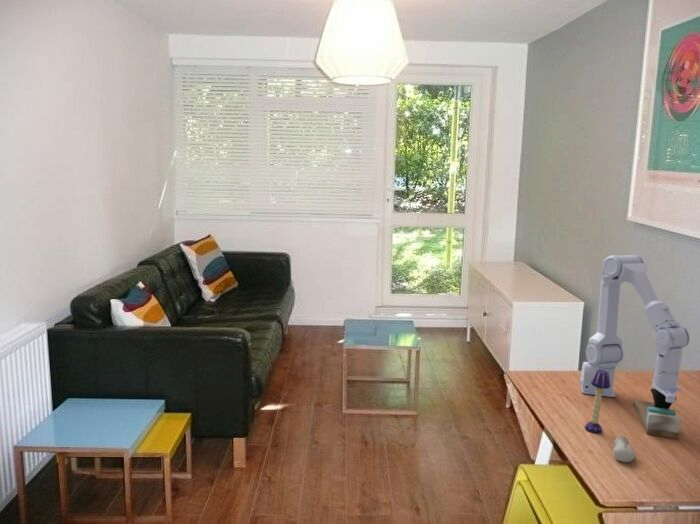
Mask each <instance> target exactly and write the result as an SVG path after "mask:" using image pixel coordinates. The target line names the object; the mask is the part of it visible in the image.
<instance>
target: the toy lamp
mask: <svg viewBox="0 0 700 524" xmlns="http://www.w3.org/2000/svg"><path fill="white" fill-rule="evenodd" d="M591 384H592V385H593V386H595V387H596V392H595V395H594V397H593V400H594V401H593V407H592V413H591V419H590V421H589V422H587V423H586V424H585V425H584V429H585V430H586V431H588V432H589V433H594V434H600V433H602V432H603V429H602V426H601V425H600V423H599V417H600V411H601V407H602V406H601V405H602V404H601V402H602V397H603V396H602V391H603V389H607V388H609V387H610V380H609V373H608V372H607V371H606V370H601V369H598V370H597V371H596V372H595V374H594V376H593V379H592V381H591Z"/></svg>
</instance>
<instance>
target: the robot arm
mask: <svg viewBox="0 0 700 524" xmlns="http://www.w3.org/2000/svg"><path fill="white" fill-rule="evenodd" d="M647 268H648V266H647V264H646V263H645V261H644V258H643V257H642V256H641V255H639V254H632V255H631V254H628V255H626V254H625V255H624V254H623V255H622V254H621V255H614V254H611V255H609V256H608V257H607V256H606V258H604V259H603V260H602V267H601V270H602V271H601V277H600V286H599V287H600V288H599V301H598V316H597V327H596V333H595V334H593V335H592V336H591V337H589V339H588V342H587V343H588V344H587V346H586V349H585V356H586V359H587V361H582V366H581V370H580V371H581V372H580V381H579V386H580V389H581V393H583V394H585V395H586V394H587V395H593V396H595V392H596V387H595V386H593V385H592V384H591V381H592V379H593V376H594V374H595V372H596V371H597V370H598V369H601V370H606V371H607V372H608V373H609V380H610V387H609V388H607V389H603V391H602V396H601V397H608V398H609V397H610V398H616V394H615V392H614V381H615V375H616V367H618V366H619V363H620V362H622V360H623V359H624V354H625V353H624V348H623V340H622V339H621V338H620V337H619V336H618V335H617V331H618V317H619V303H620V292H621V285H622V284H624V282H626V283H629V284H631V285H632V287H633V288H634V290H635V291H636V293H637V294H638V295H639V297H640V299H641V300H642V302H643V303H644V305H645V309H644V314H645V315H646V317H647V319H648V321H649V323H650V324H651V327H652V328H653V330H654V332H655V334H653V335H654V336H653V340H654V343H655V345H656V346H655V351H656V360H655V367H654V373H653V380H652V382H651V387H652V388H650V392H651V395H652V399H653V402H654V407H657V408H664V409H670V407H671V406H672V404H675V403H676V400H677V396H676V394H677V393H678V392H677V391H682V387H681V386H680V385H678V380H679V373H680V368H681V362H682V355H683V349H684V348H685V347H687V346H688V345H689V343H690V334H689V331H688V329H687V328H686V327H684V326H683V325H681V324H680V323H679V322H677V321H676V319H675V318H674V315H673V314H672V312H671V310H670V307H669V306H668V304H666V302H664V301H661V300H659V298H658V296H657V294H656V292H655V289H654V288H653V286H652V284H651V281H650V280H649V277H648V275H647V271H648V270H647Z"/></svg>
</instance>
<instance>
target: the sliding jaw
mask: <svg viewBox="0 0 700 524" xmlns="http://www.w3.org/2000/svg"><path fill="white" fill-rule="evenodd" d="M648 412H652V413H659V414H666V415H674V416H676V413H677V412H676V411H675V409H673V408H672V409H670V408H669V409H664V408H657V407H650V406H648V407H647V414H646V422H647V416H648Z"/></svg>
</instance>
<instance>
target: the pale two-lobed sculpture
mask: <svg viewBox="0 0 700 524" xmlns="http://www.w3.org/2000/svg"><path fill="white" fill-rule="evenodd" d="M629 444H630V442H629V439H628V438H627V436H624V435H620V436H618V437H617V438H615V439H614V441H613V448H612V453H613V456H614V457H615V459H617V460H618V461H619V462H622V463H630V462H632V461H633V460H634V458H635V457H636V455H635V453H634V451H633V449H632V447H631V446H629Z"/></svg>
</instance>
